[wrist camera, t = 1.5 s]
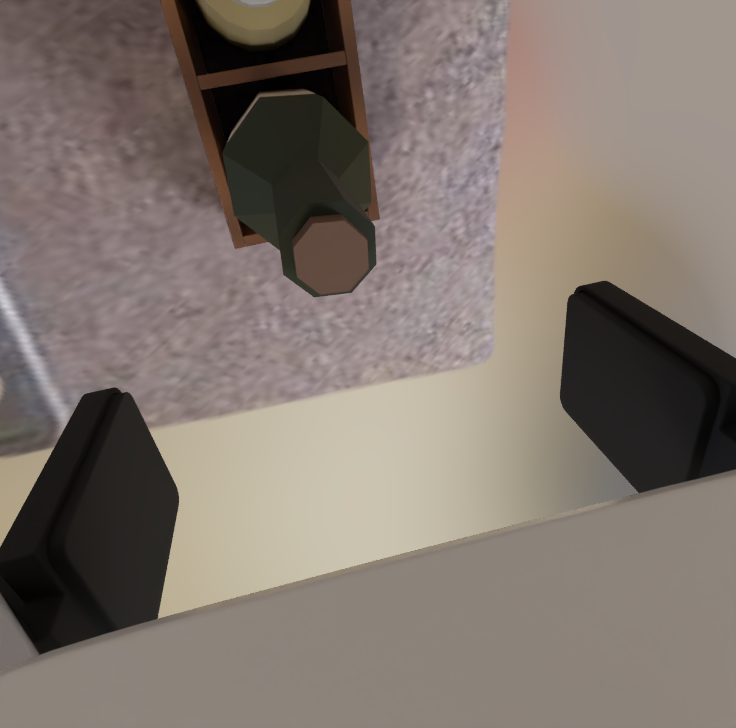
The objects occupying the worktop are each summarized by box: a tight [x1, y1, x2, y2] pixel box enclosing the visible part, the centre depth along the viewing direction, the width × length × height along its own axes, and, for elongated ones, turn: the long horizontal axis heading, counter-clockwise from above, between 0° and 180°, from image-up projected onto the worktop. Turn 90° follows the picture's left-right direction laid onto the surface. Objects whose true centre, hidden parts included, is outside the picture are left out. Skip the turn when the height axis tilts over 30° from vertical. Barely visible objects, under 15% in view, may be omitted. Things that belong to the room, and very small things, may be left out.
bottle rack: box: [160, 0, 380, 249], centre depth 35 cm, size 21×11×8 cm, turn 9°
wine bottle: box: [222, 87, 376, 297], centre depth 28 cm, size 8×8×30 cm
